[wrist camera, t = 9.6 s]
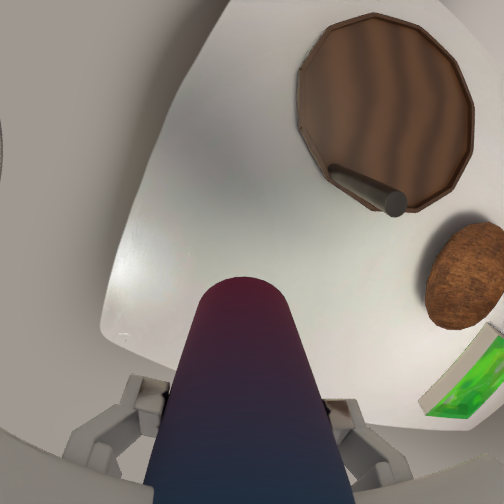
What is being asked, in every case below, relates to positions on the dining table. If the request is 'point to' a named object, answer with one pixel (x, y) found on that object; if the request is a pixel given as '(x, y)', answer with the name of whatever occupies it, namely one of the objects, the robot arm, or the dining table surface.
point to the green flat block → (468, 378)
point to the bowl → (466, 277)
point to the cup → (245, 410)
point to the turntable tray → (386, 113)
